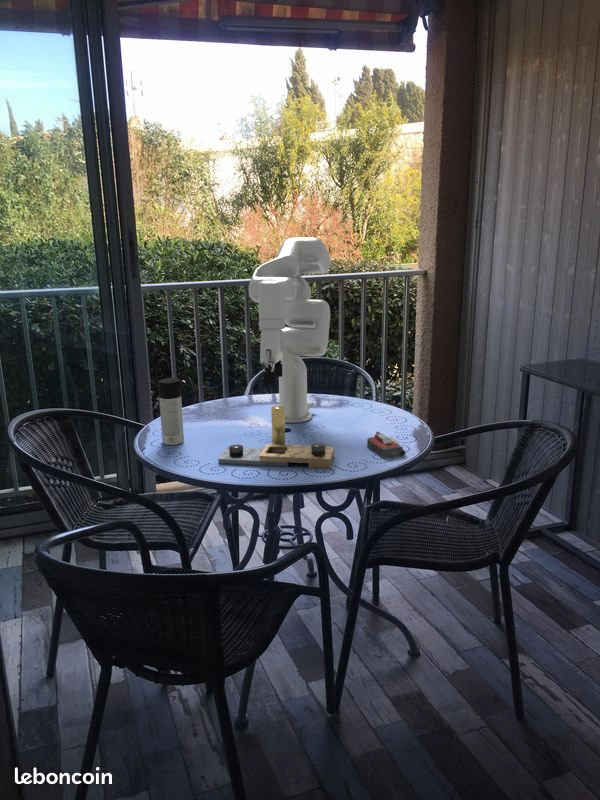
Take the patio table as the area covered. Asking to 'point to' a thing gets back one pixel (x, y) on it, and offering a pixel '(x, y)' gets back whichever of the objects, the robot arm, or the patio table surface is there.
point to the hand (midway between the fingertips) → (273, 380)
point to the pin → (278, 425)
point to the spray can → (171, 411)
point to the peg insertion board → (279, 455)
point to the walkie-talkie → (385, 446)
